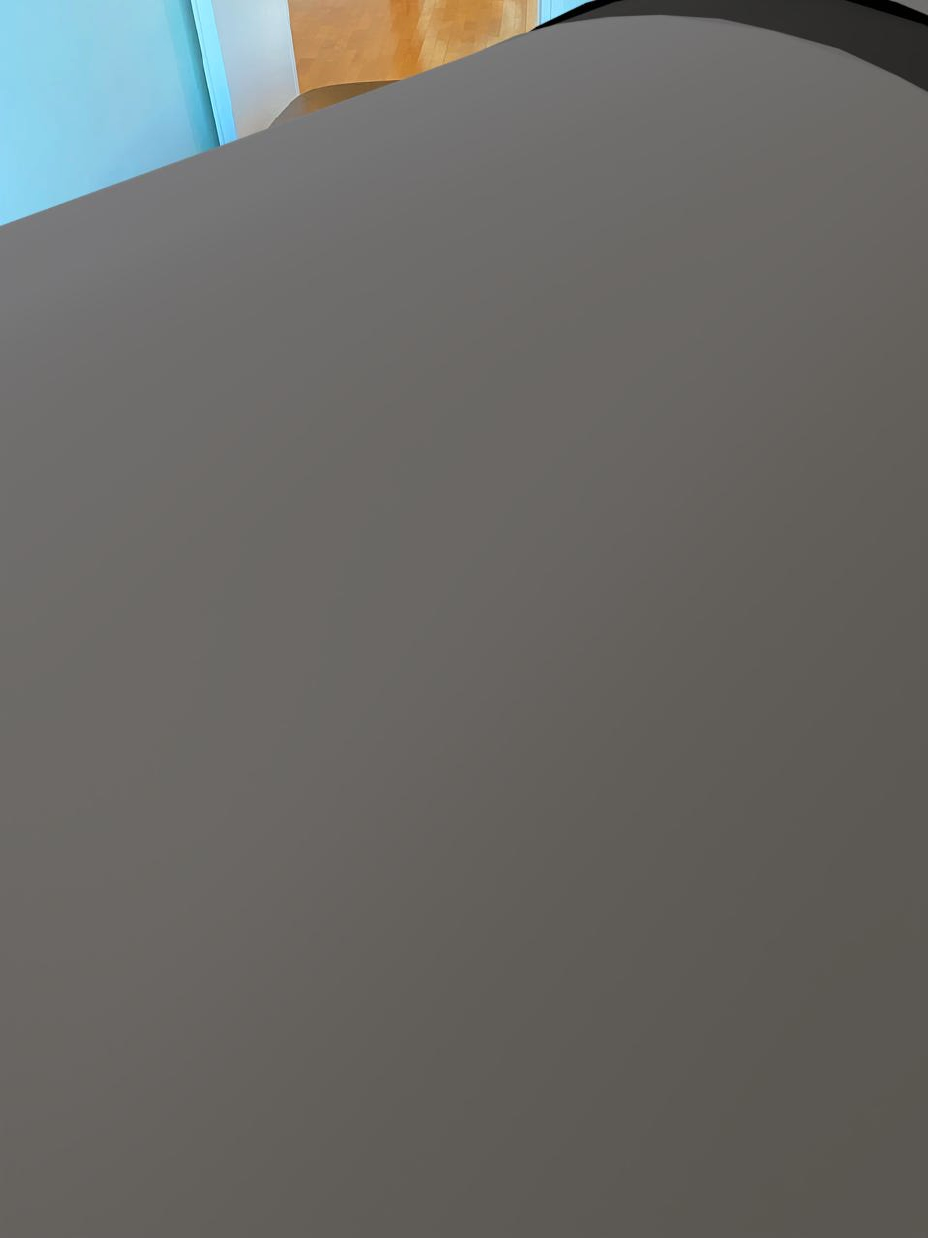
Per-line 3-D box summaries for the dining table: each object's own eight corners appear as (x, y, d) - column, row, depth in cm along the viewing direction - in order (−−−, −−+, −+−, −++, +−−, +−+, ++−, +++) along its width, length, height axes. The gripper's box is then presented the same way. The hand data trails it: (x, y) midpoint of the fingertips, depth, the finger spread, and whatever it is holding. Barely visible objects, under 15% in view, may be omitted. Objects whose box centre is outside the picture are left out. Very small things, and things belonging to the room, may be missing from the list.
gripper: (145, 794, 56) (502, 664, 63) (198, 989, 47) (605, 814, 54) (109, 711, 51) (503, 580, 58) (162, 913, 42) (617, 731, 49)
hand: (552, 694), depth 56 cm, fingers closed
